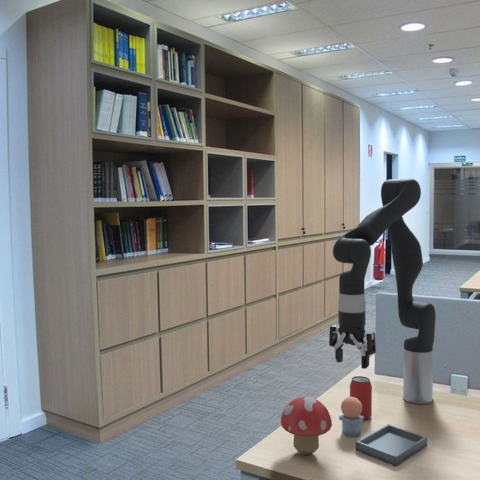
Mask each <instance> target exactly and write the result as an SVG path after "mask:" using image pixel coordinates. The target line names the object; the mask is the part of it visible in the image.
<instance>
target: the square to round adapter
mask: <svg viewBox="0 0 480 480" xmlns="http://www.w3.org/2000/svg"><path fill="white" fill-rule="evenodd" d="M338 420H339V421H342V422H341V426H342V427H341V428H342V429H341V430H342V431H341V433H342V435H343V436H345V437H347V438H358V437H360V436H362V435H361V433H362V431H361V430H362V426H361V424H362V423H361V422H362V421H365V420H364V416H361V415H360V416H358V417H357V418H354V419H350V418H347V417H346V416H345V415H344V414H343V413H342V414H341V415H339V416H338Z"/></svg>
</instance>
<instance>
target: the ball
mask: <svg viewBox="0 0 480 480" xmlns="http://www.w3.org/2000/svg"><path fill="white" fill-rule="evenodd" d="M340 404H341V405H340V409H341V410H340V411H341V413H342V415H343V414H344V415H345V416H346V417H347V418H350V419H354V418H357V417H358V416H360V414H361V412H362V404H361V402H360V401H359V400H358V399H357V398H355V397H350V396H347V397H345V398H344V399H342V401H341V403H340Z"/></svg>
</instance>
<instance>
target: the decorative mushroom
mask: <svg viewBox="0 0 480 480" xmlns="http://www.w3.org/2000/svg"><path fill="white" fill-rule="evenodd" d="M332 421H333V420H332V417H331V414H330V412H329V410H328V409H327V407H326V406H325V405H324V404H323V403H322V402H321V401H319V400H318V399H316V398H314V397H309V396H300V397H296V398H294V399H292V400H291V401H290V402H288V403H287V405H286V406H285V408H284V409H283V411H282V413H281V416H280V425H281V428H282V429H283V430H284V431H286V432H287V433H289V434H291V435H293V443H292V444H293V447H294V449H295V450H296V451H297V452H298V453H300V454H301V455H304V456H309V455H312V454H314V453H315V452H316V451H317V450H318V449H319V446H320V445H319V444H320V441H319V436H322V435H325V434H327V433H328V432H329V431H330V430H331V429H332V426H333V423H332Z"/></svg>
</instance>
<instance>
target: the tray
mask: <svg viewBox="0 0 480 480" xmlns="http://www.w3.org/2000/svg"><path fill="white" fill-rule="evenodd" d="M426 447H428V437H427V436H424V435H421V434H418V433H416V432H413V431H409V430H406V429H403V428H402V427H397V426H395V425H392V424H386V425H384V426H382V427H380V428H378V429H377V430H374V431H373V432H371V433H369V434H367V435H366V436H363V437H362V438H359V439H358V440H356V441H355V451H356V452H358V453H361V454H364V455H366V456H369V457H371V458H374V459H376V460H379V461H381V462H383V463H386V464H387V465H391V466H393V467H398V466H399V465H401V464H402V463H404V462H406V461H407V460H408V459H410V458H412V457H413V456H415V455H416V454H417V453H419V452H421V451H422V450H424V449H425V448H426Z"/></svg>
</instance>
